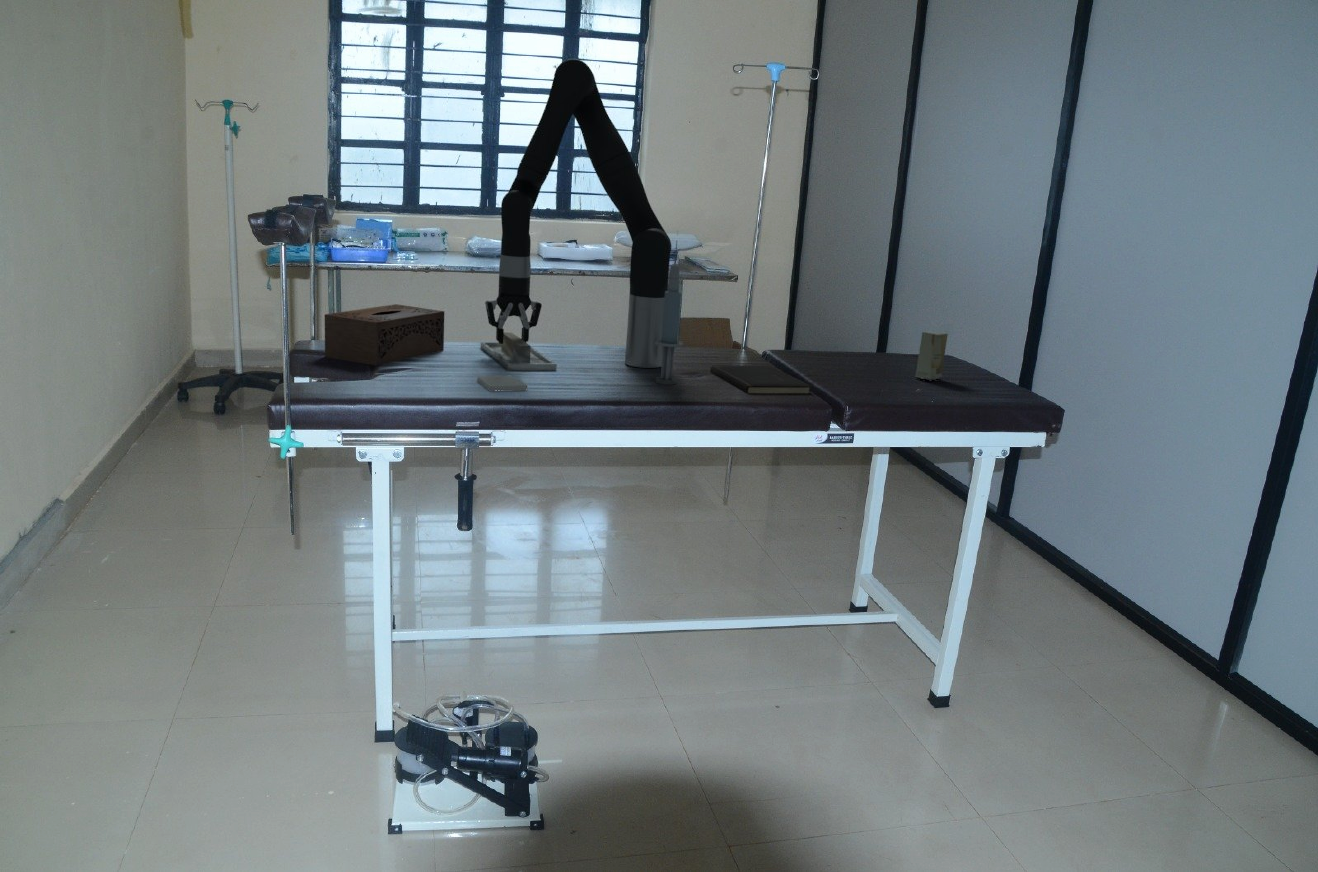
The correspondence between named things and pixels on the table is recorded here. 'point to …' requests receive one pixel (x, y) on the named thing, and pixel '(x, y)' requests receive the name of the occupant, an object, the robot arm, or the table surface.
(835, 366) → the table surface
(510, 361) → the instrument tray
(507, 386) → the tile
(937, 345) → the skincare box
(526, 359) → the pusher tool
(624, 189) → the robot arm
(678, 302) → the syringe
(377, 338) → the tissue box cover
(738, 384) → the hardcover book
